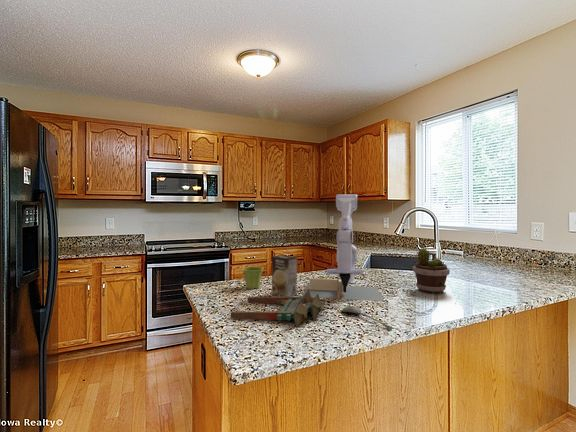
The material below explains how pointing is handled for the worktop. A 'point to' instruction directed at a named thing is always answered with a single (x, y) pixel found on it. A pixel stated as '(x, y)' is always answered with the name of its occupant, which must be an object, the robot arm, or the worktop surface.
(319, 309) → the miniature gate
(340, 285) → the tan wooden plank
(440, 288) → the flowerpot
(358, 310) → the soupspoon
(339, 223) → the robot arm
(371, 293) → the board
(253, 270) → the plant pot
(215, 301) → the worktop surface
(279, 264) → the coffee box
